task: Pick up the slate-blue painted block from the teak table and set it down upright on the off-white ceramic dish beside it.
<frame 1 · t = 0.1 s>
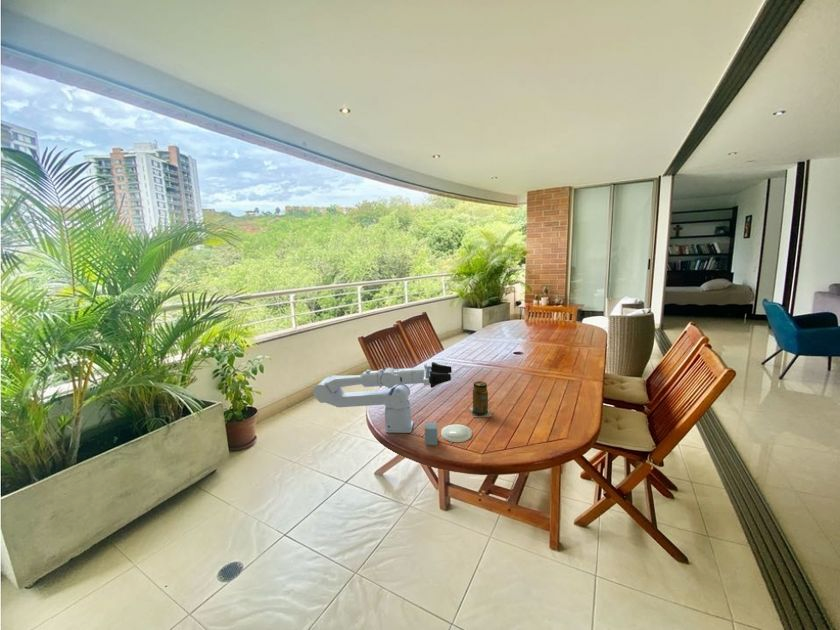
hand: (451, 373, 121), 22 cm above the table, tool horizontal, fingers open, 7 cm apart
condiment: (480, 412, 137), on the table
block: (431, 441, 117), on the table
dish: (456, 434, 122), on the table
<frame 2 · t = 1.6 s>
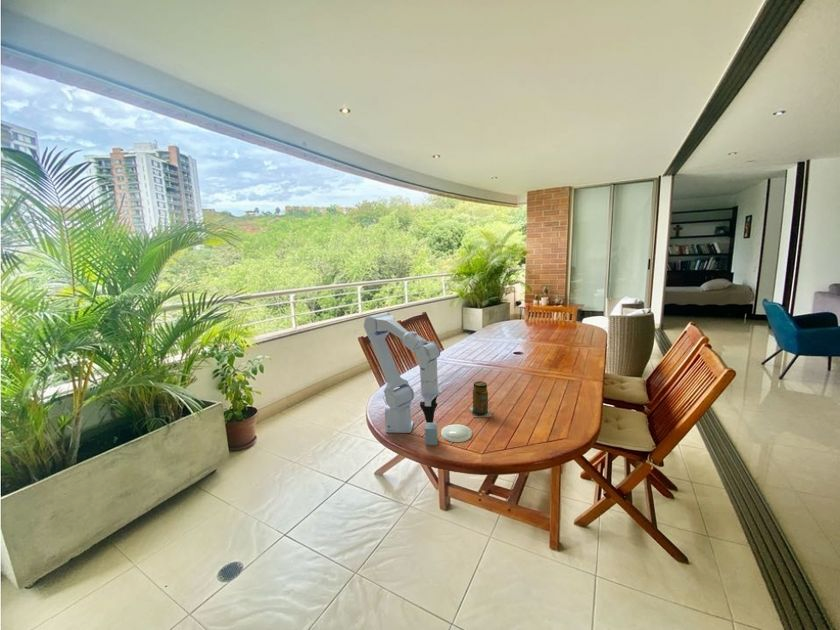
hand: (430, 416, 115), 9 cm above the table, tool pointing down, fingers open, 7 cm apart
nothing on the table moved.
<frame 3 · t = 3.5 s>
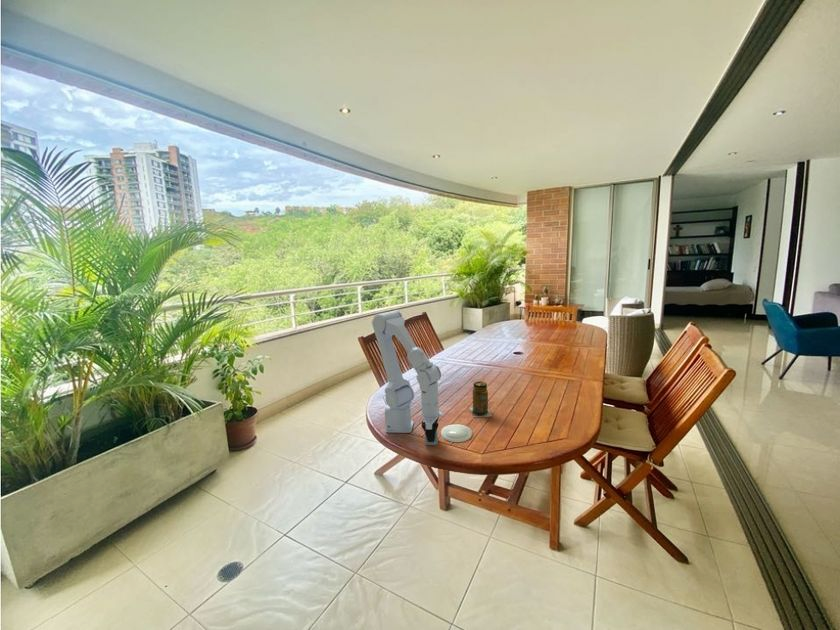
hand: (431, 437, 117), 1 cm above the table, tool pointing down, fingers closed on block, 4 cm apart
block: (431, 441, 117), on the table, touching gripper
everything else where it was.
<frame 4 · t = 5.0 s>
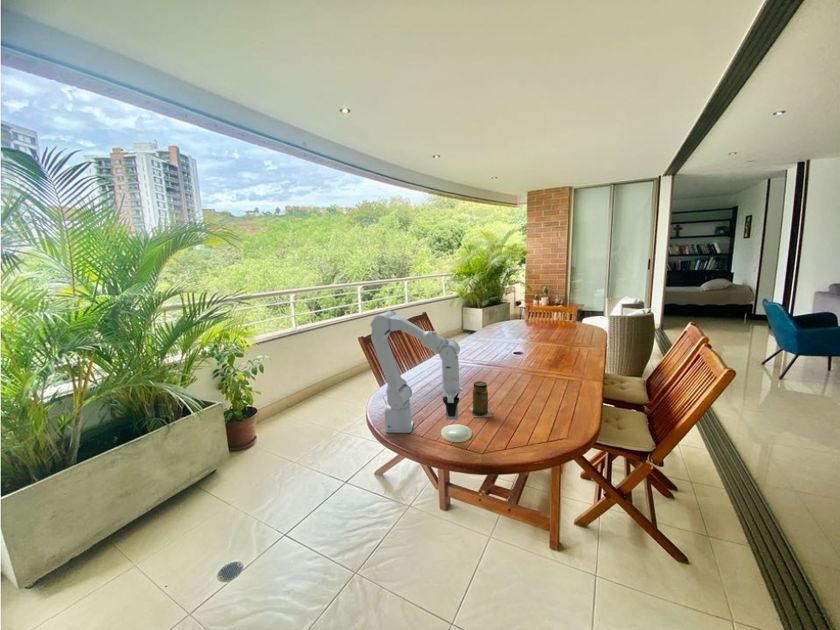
hand: (452, 412, 119), 8 cm above the table, tool pointing down, fingers closed on block, 4 cm apart
block: (452, 417, 119), point 7 cm above the table, touching gripper
everything else where it was.
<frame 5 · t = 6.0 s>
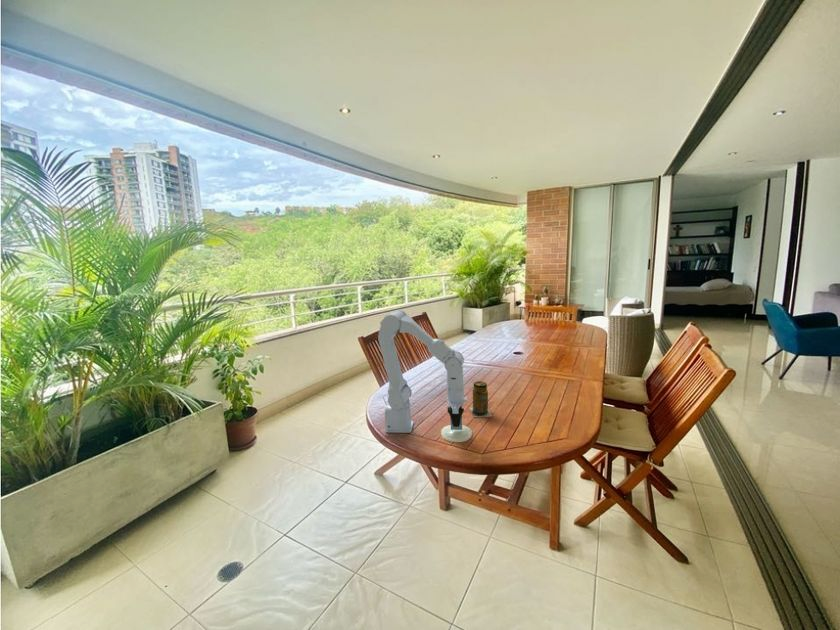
hand: (456, 422, 121), 4 cm above the table, tool pointing down, fingers closed on block, 4 cm apart
block: (456, 426, 121), point 3 cm above the table, touching gripper
everything else where it was.
when the fingers open (4 cm above the table, at t = 6.8 s): block drops 2 cm, resting on dish.
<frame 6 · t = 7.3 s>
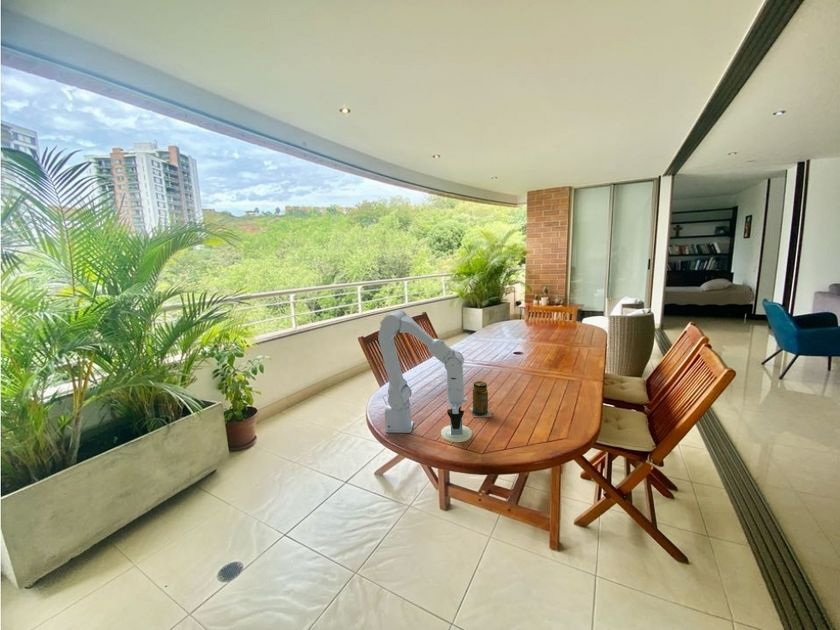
hand: (456, 423, 121), 4 cm above the table, tool pointing down, fingers open, 7 cm apart
block: (456, 431, 121), point 1 cm above the table, touching dish
dish: (456, 434, 122), on the table, touching block
everything else where it was.
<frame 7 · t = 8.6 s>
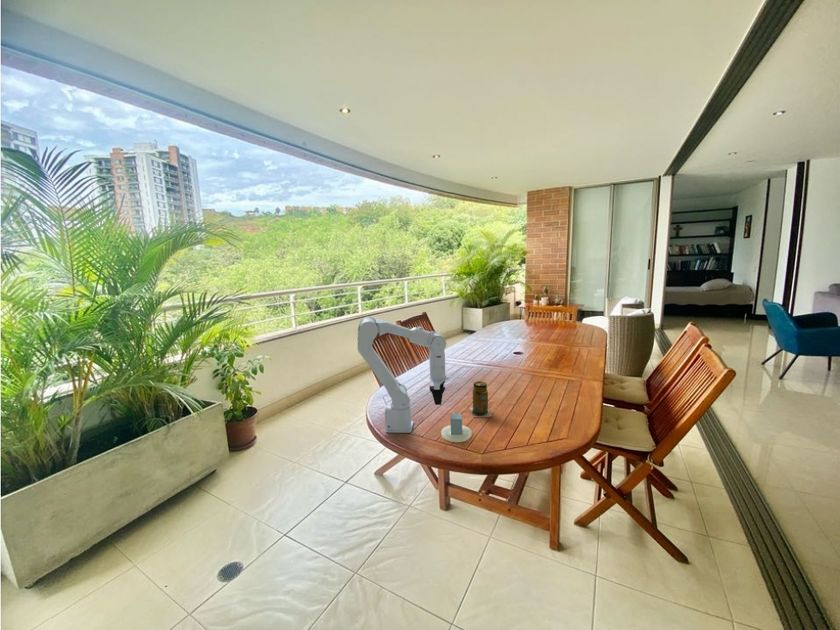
hand: (438, 399, 128), 9 cm above the table, tool pointing down, fingers open, 7 cm apart
nothing on the table moved.
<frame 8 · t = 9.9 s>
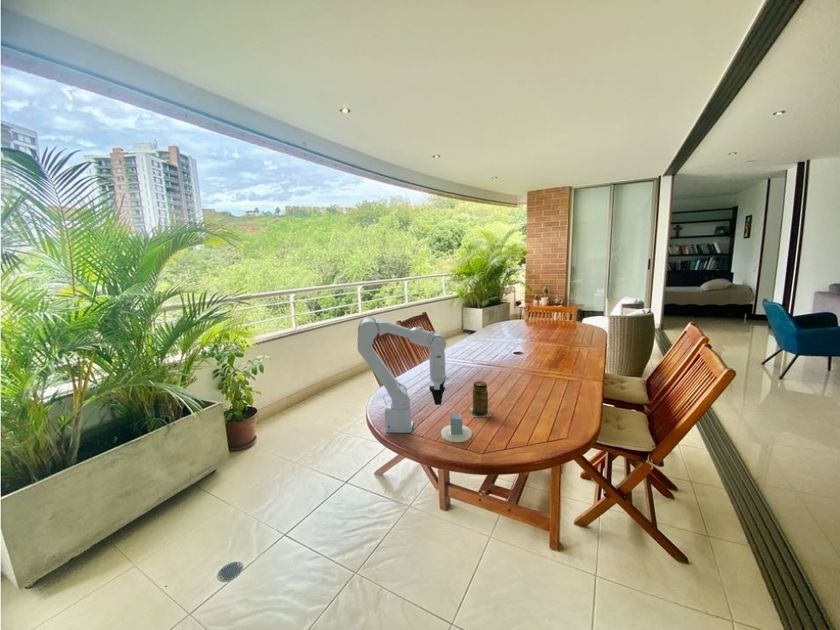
hand: (438, 399, 128), 9 cm above the table, tool pointing down, fingers open, 7 cm apart
nothing on the table moved.
at the end: block inside the target area on the dish (0.1 cm from its centre), point 1.2 cm above the dish's base; block tilted 0°; the gripper is holding nothing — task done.
